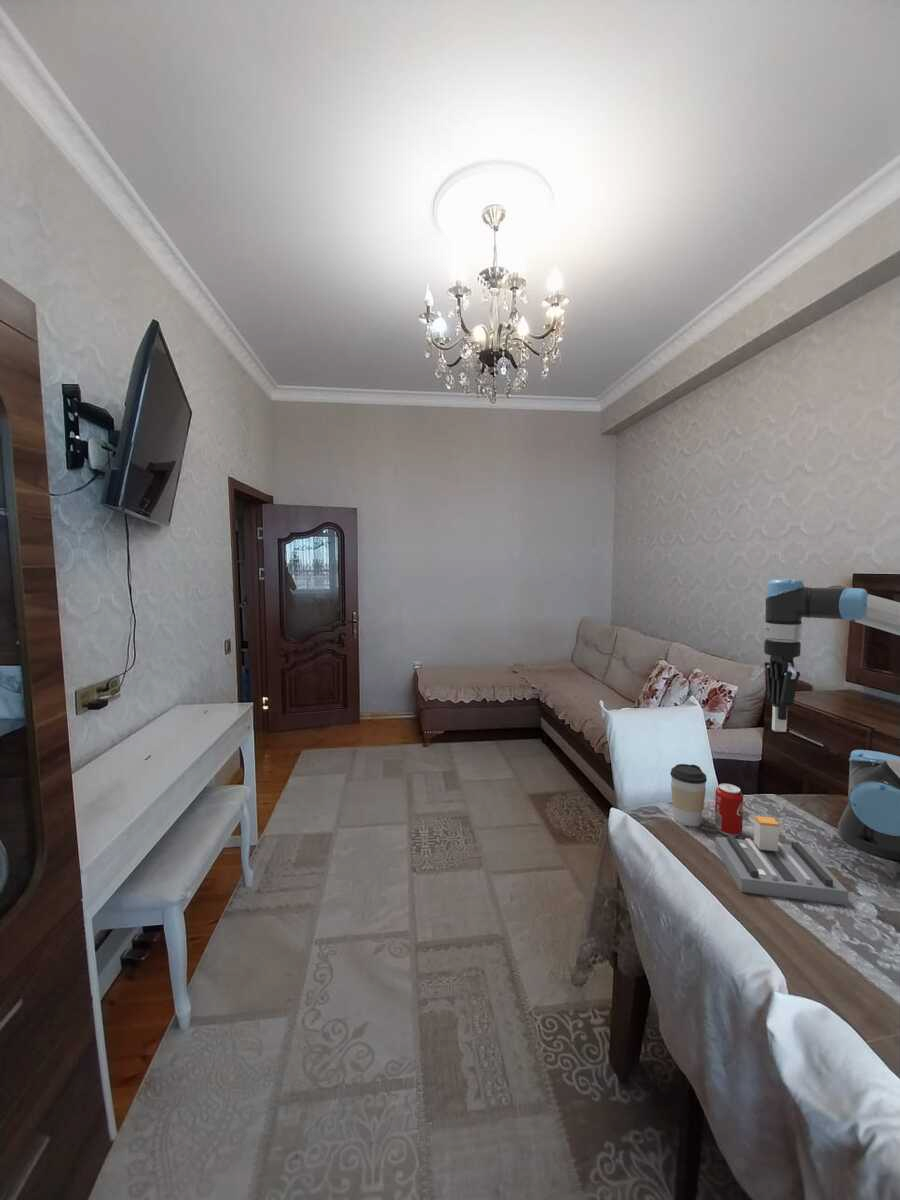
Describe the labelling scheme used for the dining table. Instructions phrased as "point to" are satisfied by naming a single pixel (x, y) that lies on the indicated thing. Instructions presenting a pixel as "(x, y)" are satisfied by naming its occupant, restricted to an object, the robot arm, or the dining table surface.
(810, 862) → the dark grey bar
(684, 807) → the coffee cup
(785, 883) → the panel
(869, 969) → the dining table surface
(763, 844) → the orange-topped grey block
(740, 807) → the beverage can
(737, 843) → the dark grey rail
